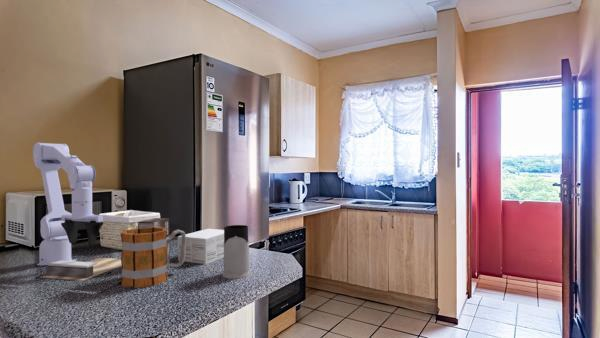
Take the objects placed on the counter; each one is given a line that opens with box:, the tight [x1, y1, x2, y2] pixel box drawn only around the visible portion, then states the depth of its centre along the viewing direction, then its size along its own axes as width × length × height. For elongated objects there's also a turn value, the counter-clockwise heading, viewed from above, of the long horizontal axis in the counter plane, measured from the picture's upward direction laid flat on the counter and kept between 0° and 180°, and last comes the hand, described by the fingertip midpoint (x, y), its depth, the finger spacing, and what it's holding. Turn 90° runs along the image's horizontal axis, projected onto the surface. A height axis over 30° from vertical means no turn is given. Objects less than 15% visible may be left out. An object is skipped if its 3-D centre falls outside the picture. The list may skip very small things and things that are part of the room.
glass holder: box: [222, 224, 252, 280], centre depth 113 cm, size 9×14×15 cm, turn 9°
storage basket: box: [98, 209, 161, 251], centre depth 154 cm, size 24×16×15 cm
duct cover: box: [47, 260, 97, 268], centre depth 110 cm, size 14×4×1 cm, turn 77°
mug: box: [120, 227, 186, 289], centre depth 108 cm, size 20×14×15 cm
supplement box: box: [177, 228, 224, 265], centre depth 134 cm, size 17×13×9 cm
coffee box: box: [138, 217, 171, 263], centre depth 122 cm, size 9×6×16 cm
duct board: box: [40, 257, 122, 281], centre depth 118 cm, size 16×24×4 cm, turn 167°
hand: (82, 243), depth 116 cm, fingers open, 7 cm apart
